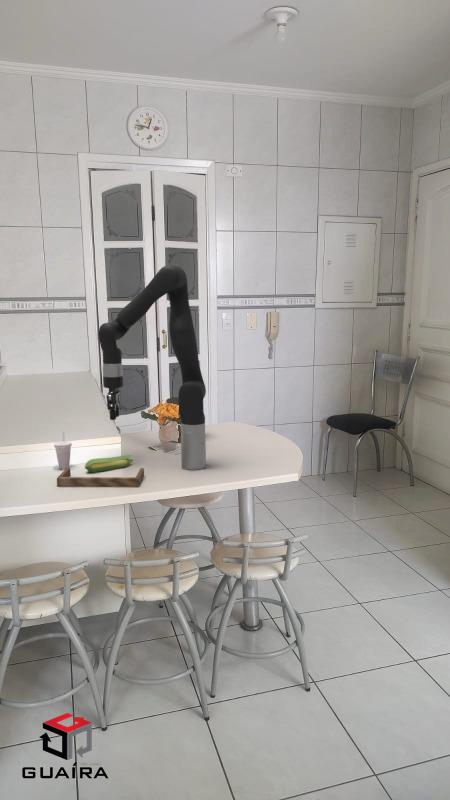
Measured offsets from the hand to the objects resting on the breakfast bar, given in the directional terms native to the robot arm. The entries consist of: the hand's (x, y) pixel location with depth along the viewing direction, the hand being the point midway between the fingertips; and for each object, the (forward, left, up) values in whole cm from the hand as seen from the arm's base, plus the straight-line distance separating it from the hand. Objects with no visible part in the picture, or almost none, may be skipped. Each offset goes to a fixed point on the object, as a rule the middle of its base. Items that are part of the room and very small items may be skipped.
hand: (114, 418), depth 217 cm
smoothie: (+18, +9, -18) cm, 27 cm away
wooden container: (-23, -35, -18) cm, 45 cm away
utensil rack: (0, +25, -17) cm, 30 cm away
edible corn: (0, +10, -18) cm, 20 cm away
